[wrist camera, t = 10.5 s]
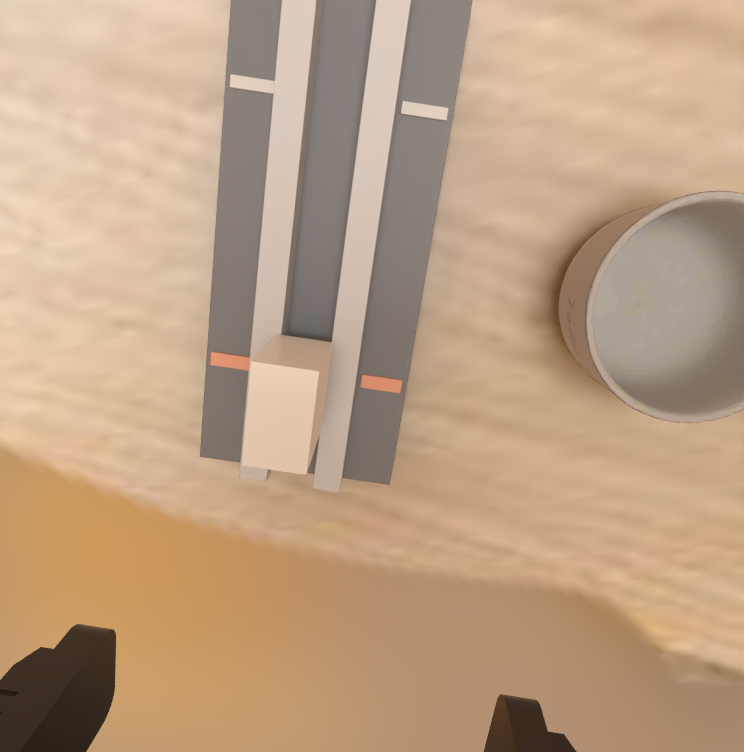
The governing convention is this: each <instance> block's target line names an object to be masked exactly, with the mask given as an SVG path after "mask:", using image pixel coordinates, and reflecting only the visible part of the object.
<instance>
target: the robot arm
mask: <svg viewBox="0 0 744 752" xmlns="http://www.w3.org/2000/svg"><path fill="white" fill-rule="evenodd" d="M115 657H116V634H115V631H114V630H112V629H106V628H100V627H94V626H87V625H82V624H76V625H75V626H73V627H72V628H71V629H70V630H69V631H68V633H67V634H66V635H65V636H64V638H63V639H62V640H61V641H60V642H59V644H58V645H57V646H56V647H55V648H54V649H50V648H43V647H40V648H39V649H38V650H36V651H34V652H33V653H32V654H30V655H28V656H27V657H25V658H24V659H22V660H21V661H19V662H18V663H16V664H15V665H13V666H12V667H11V669H10V670H9V671H8V672H7V673H6V674H5V675H4V676H3V678H2V679H1V680H0V752H86V751H87V749H88V748H89V746H90V744H91V743H92V741H93V739H94V738H95V736H96V734H97V733H98V731H99V730H100V728H101V726H102V724H103V723H104V721H105V719H106V717H107V714H108V712H109V709H110V707H111V703H112V699H113V696H114V690H115ZM484 752H576V751H575V749H574V748H573V747H572V745H571V744H570V742H569V741H568V739H567V738H566V737H565V735H564V734H558V733H553V732H548V731H547V727H546V724H545V720H544V717H543V714H542V710H541V707H540V704H539V702H538V701H537V700H533V699H527V698H520V697H514V696H508V695H499V697H498V699H497V702H496V706H495V710H494V714H493V718H492V722H491V726H490V730H489V733H488V737H487V741H486V745H485V749H484Z"/></svg>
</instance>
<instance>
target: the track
mask: <svg viewBox="0 0 744 752" xmlns="http://www.w3.org/2000/svg"><path fill="white" fill-rule="evenodd" d="M471 6H472V0H231V8H230V23H229V38H228V52H227V67H226V82H225V96H224V111H223V126H222V141H221V155H220V170H219V185H218V199H217V214H216V229H215V244H214V258H213V273H212V288H211V302H210V317H209V332H208V347H207V361H206V376H205V391H204V405H203V420H202V435H201V450H200V457H206V458H213V459H220V460H226V461H233V462H240V474H239V478H244V479H250V480H257V481H264V482H266V481H267V478H268V476H269V474H270V472H271V470H269V469H262V468H256V467H249V466H242V458H243V447H244V435H245V424H246V413H247V402H248V391H249V380H250V369H251V361H252V360H253V359H254V358H255V357H256V356H257V355H258V354H259V353H260V352H261V351H262V350H263V349H264V348H265V347H266V346H267V345H268V344H269V343H270V342H271V341H272V340H273V339H274V338H275V337H276V336H277V335H278V334H280V335H287V336H294V337H300V338H307V339H314V340H320V341H327V342H333V346H332V353H331V361H330V369H329V376H328V384H327V392H326V399H325V407H324V415H323V422H322V429H321V432H320V435H319V438H318V441H317V444H316V447H315V450H314V453H313V456H312V459H311V462H310V465H309V468H308V471H307V473H314V474H315V475H314V483H313V489H318V490H324V491H331V492H338V493H339V492H340V487H341V481H342V478H347V479H354V480H361V481H368V482H374V483H381V484H388V485H389V484H390V479H391V473H392V467H393V461H394V455H395V449H396V444H397V438H398V432H399V426H400V420H401V414H402V409H403V403H404V397H405V391H406V385H407V379H408V374H409V368H410V362H411V356H412V350H413V344H414V339H415V333H416V327H417V321H418V315H419V309H420V304H421V298H422V292H423V286H424V280H425V274H426V269H427V263H428V257H429V251H430V245H431V239H432V234H433V228H434V222H435V216H436V210H437V204H438V199H439V193H440V187H441V181H442V175H443V169H444V164H445V158H446V152H447V146H448V140H449V134H450V129H451V123H452V117H453V111H454V105H455V99H456V94H457V88H458V82H459V76H460V70H461V64H462V59H463V53H464V47H465V41H466V35H467V30H468V24H469V18H470V12H471Z"/></svg>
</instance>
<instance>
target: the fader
mask: <svg viewBox="0 0 744 752" xmlns="http://www.w3.org/2000/svg"><path fill="white" fill-rule="evenodd" d="M332 346H333V342H327V341H320V340H314V339H307V338H300V337H294V336H287V335H280V334H278V335H277V336H276V337H275V338H274V339H273V340H272V341H271V342H270V343H269V344H268V345H267V346H266V347H265V348H264V349H263V350H262V351H261V352H260V353H259V354H258V355H257V356H256V357H255V358H254V359H253V360H252V361H251V369H250V380H249V391H248V402H247V413H246V424H245V435H244V447H243V458H242V466H249V467H256V468H262V469H269V470H276V471H283V472H289V473H296V474H303V475H306V474H307V471H308V468H309V465H310V462H311V459H312V456H313V453H314V450H315V447H316V444H317V441H318V438H319V435H320V432H321V429H322V422H323V415H324V407H325V399H326V392H327V384H328V376H329V369H330V361H331V353H332Z"/></svg>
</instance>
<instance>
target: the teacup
mask: <svg viewBox="0 0 744 752" xmlns="http://www.w3.org/2000/svg"><path fill="white" fill-rule="evenodd" d="M559 320H560V326H561V330H562V334H563V337H564V340H565V342H566V344H567V347H568V348H569V350H570V352H571V354H572V355H573V357H574V358H575V360H576V361H577V362H578V364H579V365H580V366H581V367H582V368H583V369H584V370H585V371H586V372H587V373H588V374H589V375H590V376H591V377H592V378H594V379H595V380H596V381H597V382H599V383H600V384H601V385H602V386H604V387H605V388H607V389H608V390H610V391H611V392H613V393H614V394H615V395H616V396H617V397H618V398H619V399H620V400H622V401H623V402H624V403H626V404H627V405H629V406H630V407H632V408H633V409H635V410H637V411H639V412H641V413H643V414H645V415H649V416H652V417H654V418H657V419H661V420H665V421H671V422H677V423H696V422H704V421H712V420H716V419H720V418H724V417H727V416H730V415H731V414H734V413H737V412H740V411H742V410H743V409H744V194H743V193H738V192H729V191H709V192H701V193H695V194H690V195H686V196H683V197H680V198H676V199H674V200H672V201H669V202H664V203H660V204H656V205H651V206H648V207H644V208H641V209H638V210H635V211H632V212H629V213H627V214H625V215H623V216H621V217H619V218H617V219H615V220H613V221H611V222H610V223H608V224H607V225H605V226H604V227H602V228H601V229H600V230H598V231H597V232H596V233H595V234H594V235H593V236H592V237H590V238H589V239H588V240H587V241H586V242H585V244H584V245H583V246H582V247H581V248H580V250H579V251H578V252H577V254H576V255H575V257H574V258H573V260H572V262H571V263H570V265H569V267H568V269H567V272H566V274H565V277H564V280H563V283H562V286H561V291H560V297H559Z"/></svg>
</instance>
